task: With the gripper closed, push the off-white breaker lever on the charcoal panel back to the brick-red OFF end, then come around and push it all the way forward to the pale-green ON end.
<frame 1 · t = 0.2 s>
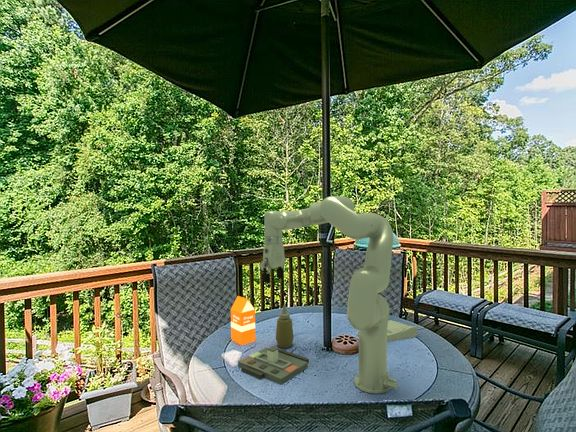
hand: (273, 280, 152), 30 cm above the table, fingers open, 9 cm apart
breaker panel: (272, 366, 139), on the table
orange juice: (243, 340, 165), on the table
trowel: (387, 337, 168), on the table
squeeze bottle: (284, 346, 158), on the table
cord front: (289, 357, 147), on the table
breaker lever: (272, 355, 138), point 5 cm above the table, slide at 4.5 cm
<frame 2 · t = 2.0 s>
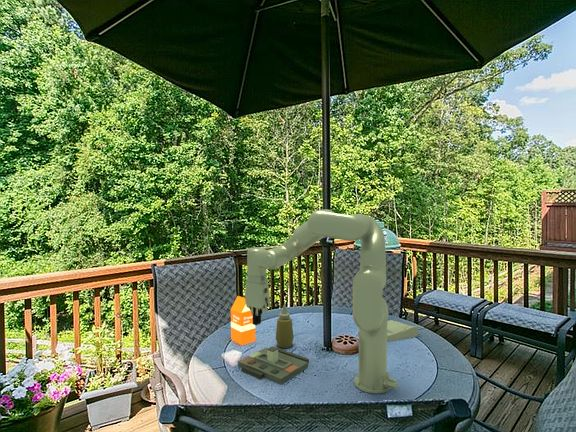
hand: (256, 323, 143), 15 cm above the table, fingers closed
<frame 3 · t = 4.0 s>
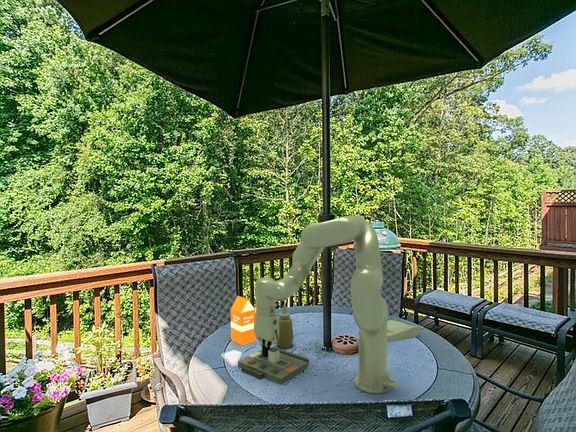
hand: (266, 355, 141), 3 cm above the table, fingers closed
breaker lever: (273, 355, 138), point 5 cm above the table, slide at 3.9 cm, touching gripper
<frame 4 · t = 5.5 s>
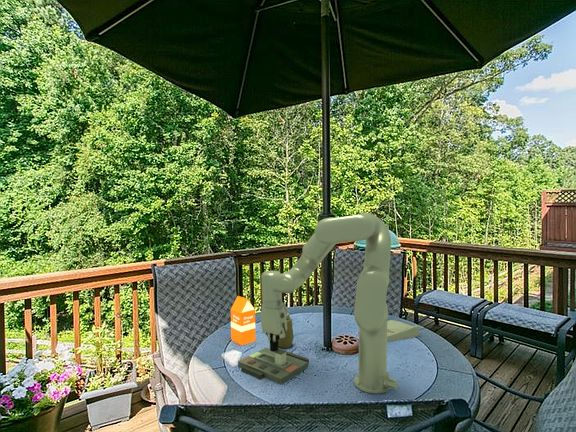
hand: (274, 350, 138), 7 cm above the table, fingers closed
breaker lever: (280, 357, 136), point 5 cm above the table, slide at 0.6 cm
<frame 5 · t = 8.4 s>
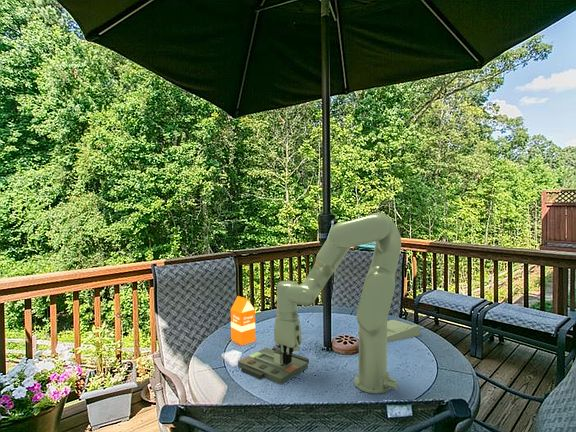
hand: (287, 362, 134), 4 cm above the table, fingers closed
breaker lever: (279, 357, 136), point 5 cm above the table, slide at 1.1 cm, touching gripper
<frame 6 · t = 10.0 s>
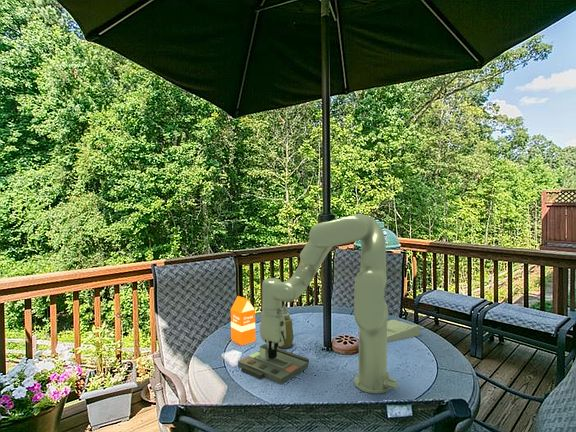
hand: (272, 357, 138), 4 cm above the table, fingers closed
breaker lever: (265, 352, 141), point 5 cm above the table, slide at 8.4 cm, touching gripper
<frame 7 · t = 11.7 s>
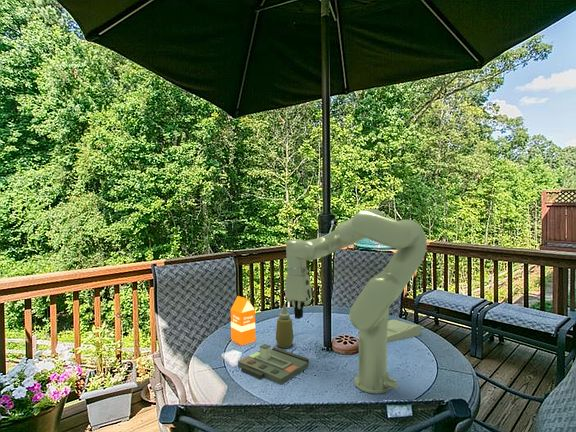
hand: (298, 317, 140), 18 cm above the table, fingers closed
breaker lever: (265, 352, 141), point 5 cm above the table, slide at 8.5 cm
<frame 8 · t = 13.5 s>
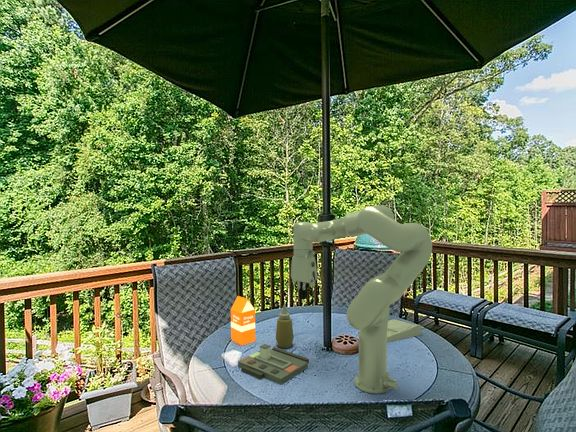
hand: (303, 298, 143), 25 cm above the table, fingers closed
at the end: breaker lever slide at 8.5 cm; breaker lever touching nothing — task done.
